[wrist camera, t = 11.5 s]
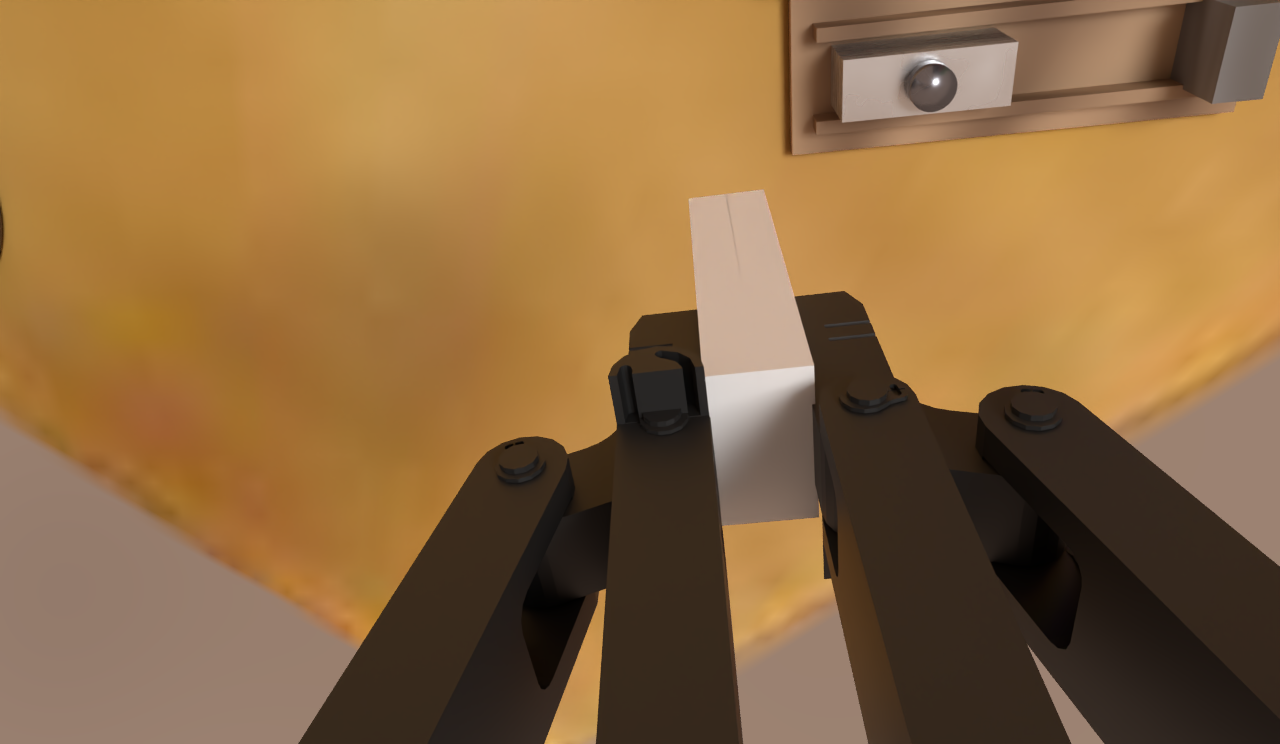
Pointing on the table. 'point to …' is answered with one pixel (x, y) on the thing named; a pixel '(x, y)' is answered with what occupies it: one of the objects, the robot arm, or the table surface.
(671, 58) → the table surface
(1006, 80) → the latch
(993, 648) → the robot arm
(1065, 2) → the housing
